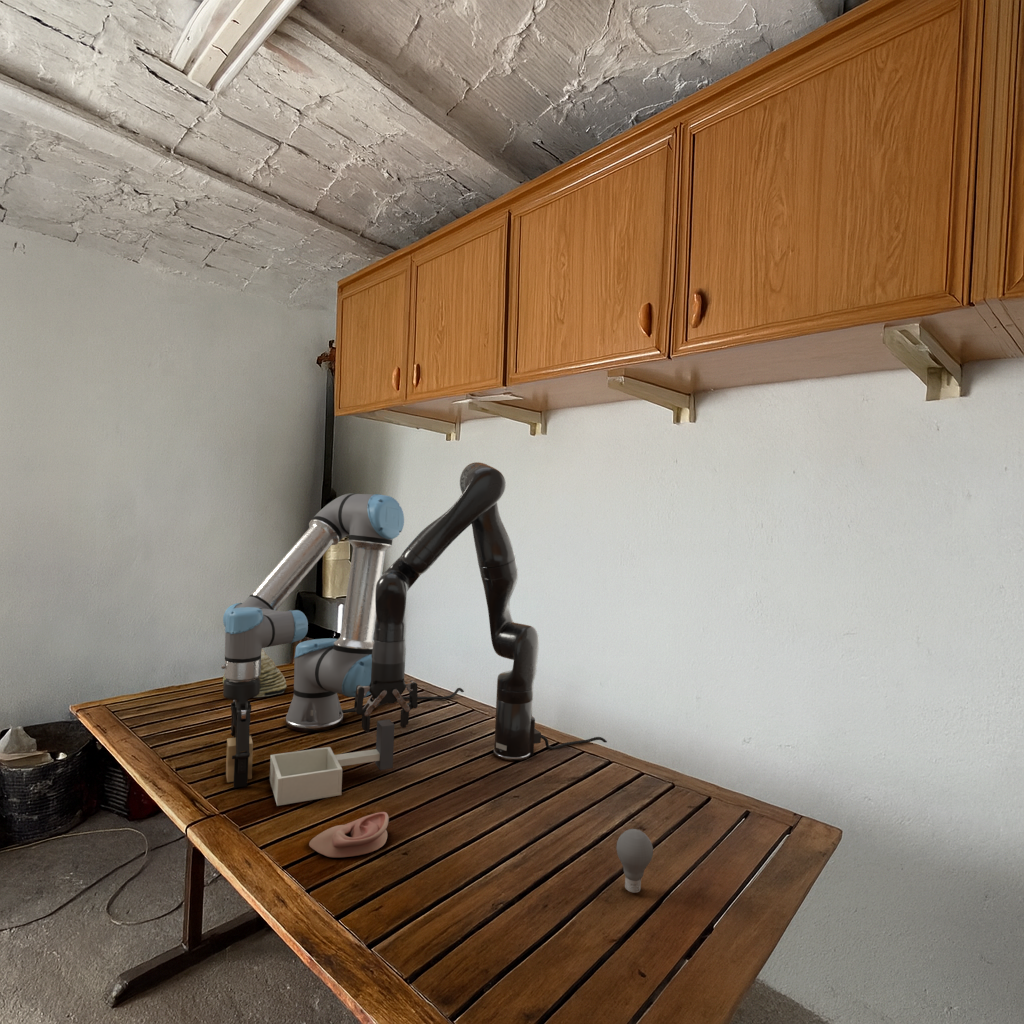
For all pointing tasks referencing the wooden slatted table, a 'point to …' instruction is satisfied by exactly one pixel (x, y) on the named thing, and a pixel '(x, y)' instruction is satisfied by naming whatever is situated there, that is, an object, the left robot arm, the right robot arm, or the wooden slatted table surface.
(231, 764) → the birch block
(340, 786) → the handled bin
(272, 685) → the fossil
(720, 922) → the wooden slatted table surface
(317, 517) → the left robot arm
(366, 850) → the anatomical model
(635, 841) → the light bulb
